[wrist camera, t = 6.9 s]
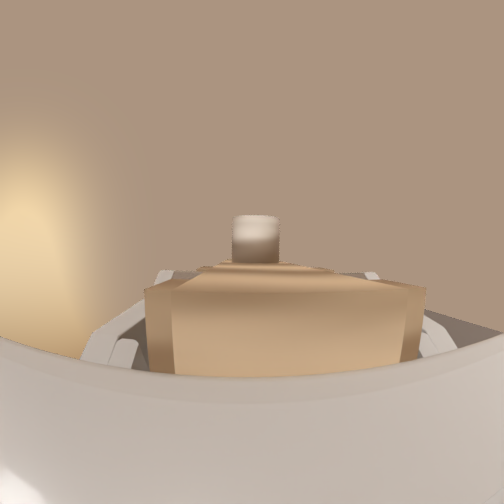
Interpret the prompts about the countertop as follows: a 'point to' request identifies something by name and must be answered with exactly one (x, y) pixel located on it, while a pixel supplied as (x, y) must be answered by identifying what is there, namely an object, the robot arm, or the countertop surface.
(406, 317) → the serving board
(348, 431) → the robot arm
